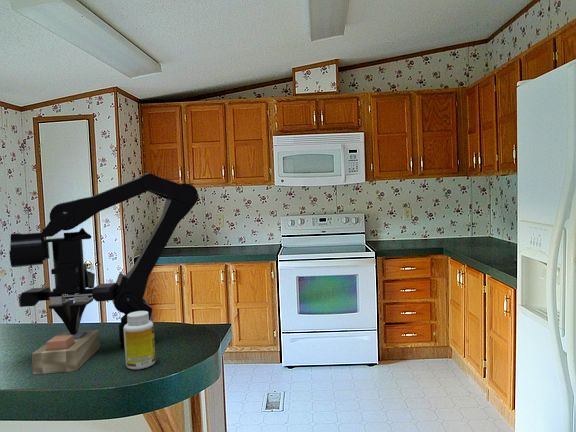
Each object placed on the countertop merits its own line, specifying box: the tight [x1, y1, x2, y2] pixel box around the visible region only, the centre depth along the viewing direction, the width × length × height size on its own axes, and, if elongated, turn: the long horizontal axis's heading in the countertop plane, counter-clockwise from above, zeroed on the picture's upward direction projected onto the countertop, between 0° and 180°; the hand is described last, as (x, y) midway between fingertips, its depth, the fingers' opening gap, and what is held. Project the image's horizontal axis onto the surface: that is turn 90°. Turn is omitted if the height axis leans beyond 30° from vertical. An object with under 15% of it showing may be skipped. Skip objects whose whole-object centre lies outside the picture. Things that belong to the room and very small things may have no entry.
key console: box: [31, 329, 101, 375], centre depth 89 cm, size 8×13×4 cm, turn 5°
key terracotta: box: [46, 335, 74, 351], centre depth 86 cm, size 4×4×3 cm
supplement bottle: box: [124, 311, 157, 370], centre depth 84 cm, size 6×6×10 cm
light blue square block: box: [66, 330, 87, 339], centre depth 92 cm, size 4×4×3 cm
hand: (74, 334), depth 92 cm, fingers closed, pressing on light blue square block
